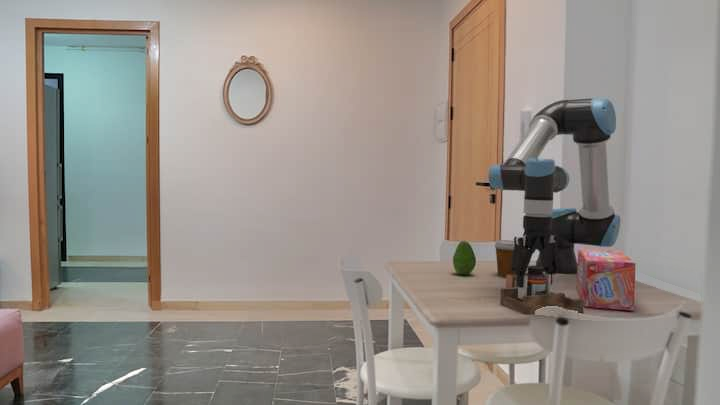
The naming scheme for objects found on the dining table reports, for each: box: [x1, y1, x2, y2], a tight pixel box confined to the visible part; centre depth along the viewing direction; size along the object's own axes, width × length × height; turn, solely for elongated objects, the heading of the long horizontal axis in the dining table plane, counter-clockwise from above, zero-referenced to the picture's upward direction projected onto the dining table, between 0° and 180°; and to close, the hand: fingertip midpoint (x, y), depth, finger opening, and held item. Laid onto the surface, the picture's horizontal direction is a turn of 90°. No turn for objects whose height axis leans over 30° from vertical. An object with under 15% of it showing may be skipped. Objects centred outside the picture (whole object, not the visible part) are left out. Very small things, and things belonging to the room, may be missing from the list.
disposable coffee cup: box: [494, 239, 516, 278], centre depth 192 cm, size 10×10×12 cm
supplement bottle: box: [525, 265, 546, 296], centre depth 150 cm, size 6×6×11 cm
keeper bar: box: [505, 274, 517, 288], centre depth 165 cm, size 3×14×4 cm, turn 23°
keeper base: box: [499, 287, 585, 315], centre depth 149 cm, size 17×14×4 cm
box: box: [576, 247, 636, 312], centre depth 162 cm, size 27×13×14 cm, turn 163°
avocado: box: [452, 240, 477, 276], centre depth 192 cm, size 8×8×12 cm
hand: (533, 297), depth 151 cm, fingers open, 7 cm apart
